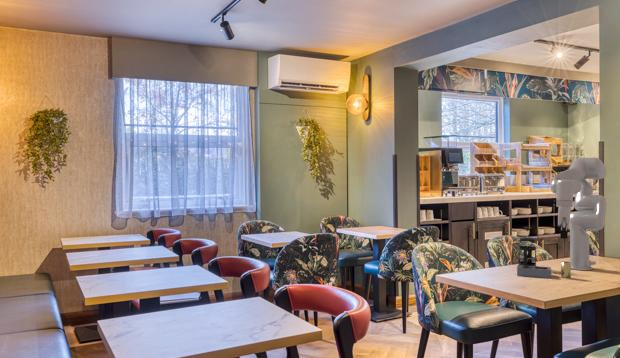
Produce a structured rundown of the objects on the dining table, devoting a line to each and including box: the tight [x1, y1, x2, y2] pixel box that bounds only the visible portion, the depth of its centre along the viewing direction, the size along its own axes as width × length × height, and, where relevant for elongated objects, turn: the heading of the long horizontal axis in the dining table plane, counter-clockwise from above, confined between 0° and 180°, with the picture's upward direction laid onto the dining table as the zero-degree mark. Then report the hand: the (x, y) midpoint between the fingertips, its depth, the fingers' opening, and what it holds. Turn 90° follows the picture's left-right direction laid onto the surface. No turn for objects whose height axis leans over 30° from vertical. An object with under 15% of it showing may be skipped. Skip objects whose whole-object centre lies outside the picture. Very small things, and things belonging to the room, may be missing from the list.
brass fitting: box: [560, 260, 572, 279], centre depth 262 cm, size 4×4×8 cm
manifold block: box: [516, 264, 552, 279], centre depth 268 cm, size 16×10×4 cm, turn 67°
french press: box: [518, 226, 537, 266], centre depth 287 cm, size 12×9×23 cm
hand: (563, 237), depth 263 cm, fingers open, 9 cm apart
